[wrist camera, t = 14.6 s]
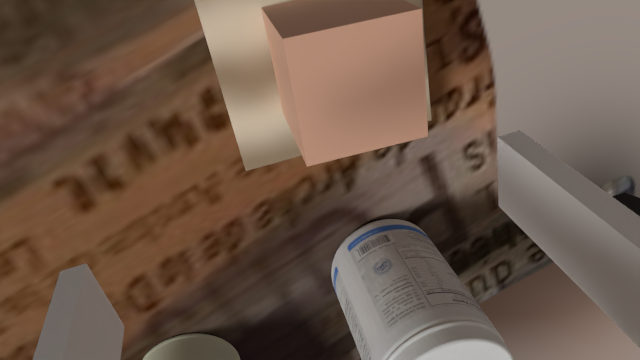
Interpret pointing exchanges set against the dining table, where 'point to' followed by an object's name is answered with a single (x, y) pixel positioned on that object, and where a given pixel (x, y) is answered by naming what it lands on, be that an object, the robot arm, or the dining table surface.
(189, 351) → the can
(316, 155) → the terracotta block
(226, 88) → the ash slab
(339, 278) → the supplement tub
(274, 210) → the dining table surface
